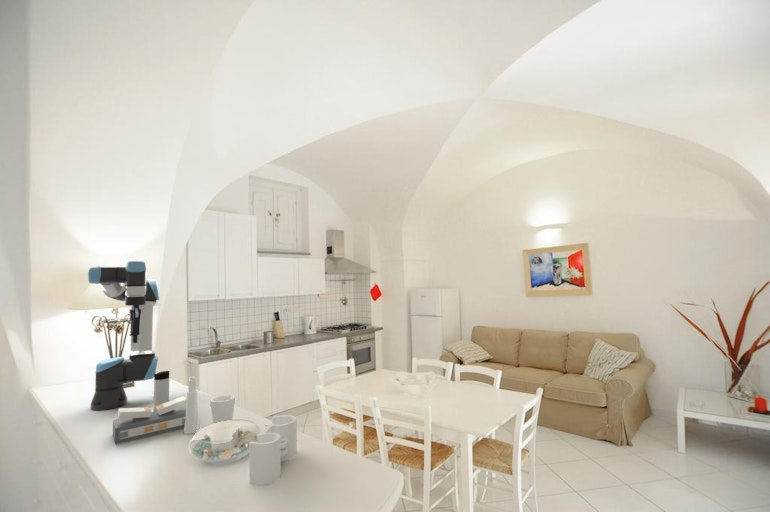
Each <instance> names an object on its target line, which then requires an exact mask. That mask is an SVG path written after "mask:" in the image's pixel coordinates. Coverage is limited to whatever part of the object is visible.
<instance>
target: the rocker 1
mask: <svg viewBox="0 0 770 512" xmlns="http://www.w3.org/2000/svg"><path fill="white" fill-rule="evenodd" d="M151 412H153V411H152V409H151V408H150V407H148V406H147V407H144V406H143V407H120V408H119V407H118V410H117V413H116V415H117V419H120V418H141V417H151Z"/></svg>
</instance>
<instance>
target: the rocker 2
mask: <svg viewBox="0 0 770 512" xmlns="http://www.w3.org/2000/svg"><path fill="white" fill-rule="evenodd" d="M186 404H187V397H186V396H184V395H182V396H179V397H177V398H175V399H171V400H169V402H166V403H163V404H160V405H158V406H156V410H157V413H158V414H159V415H161V414H164V413H167V412H169V411H172V410H174V409H177V408H180V407H182V406H185V405H186Z"/></svg>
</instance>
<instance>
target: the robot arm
mask: <svg viewBox="0 0 770 512" xmlns="http://www.w3.org/2000/svg"><path fill="white" fill-rule="evenodd" d="M148 275H149V273H148V271H147V262H146V261H143V260H141V261H140V260H135V261H134V260H132V261H129V260H128V261H127V262H126V263H125V266H91V267H89V269H88V272H87V281H88V283H89V284H95V285H98V284H99V286H100V287H101V289H102V293H103V294H104V295H105V296H106V297H108V298H109V299H110V298H111V299H113V300H116V301H120V302H124V304H125V306H128V307H129V306H131V309H129V312H128V313H129V319H130V330H129V331H130V332H129V333H130V334H129V337H130V351H132V353H131V354H129V355H128V357H129V359H125V357H124V356H117V357H112V358H108V359H104V360H101V361H99V362H98V363H96V366H95V371H94V373H95V388H94V389H95V390H94V391H95V392H94V394H93V397H92V400H91V402H90V410H92V411H104V410H111V409H115V408H119V407H120V408H121V407H122V406H124V405H127V403H128V397H127V395H126V390H125V389H124V384H125V383H133V382H141V381H148V380H152V379H153V380H154V374H155V373H156V372H157V366H158V362H159V361H158V360H159V357H158V356H157V355H156V353H155V352H154V351H153V324H154V323H153V322H154V321H153V317H154V306H155V305H156V304H157V301H159V300H160V294H159V285H158V281H157V280H156V279H149V278H148ZM156 374H157V373H156Z"/></svg>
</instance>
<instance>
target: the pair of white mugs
mask: <svg viewBox="0 0 770 512" xmlns="http://www.w3.org/2000/svg"><path fill="white" fill-rule="evenodd" d="M271 421H272V423H270V422H269V423H268V422H267V423H265V424H264V425H265V427H264V429H263V430H262V431H261V432H260V433H257V434H256V441H249V445H248V446H249V449H248V450H249V451H248V452H249V453H248V454H249V485H256V486H268V485H271V484H273V483H275V482H277V481H279V480H280V479H281V475H282V472H281V471H282V469H281V468H282V467H281V463H282V462H286V461H290V460H292V459H293V458H295V457H296V456H297V453H298V449H297V448H298V444H297V442H298V439H297V436H298V435H297V433H298V430H297V422H298V421H297V417H296V416H294V415H291V414H290V415H289V414H282V415H273V416H272V419H271Z"/></svg>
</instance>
